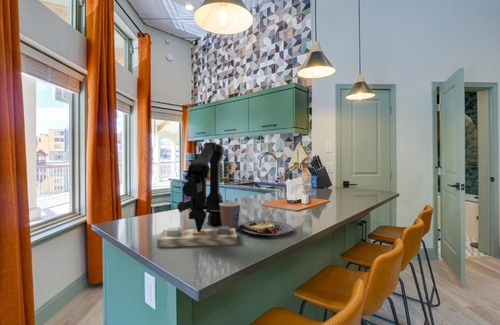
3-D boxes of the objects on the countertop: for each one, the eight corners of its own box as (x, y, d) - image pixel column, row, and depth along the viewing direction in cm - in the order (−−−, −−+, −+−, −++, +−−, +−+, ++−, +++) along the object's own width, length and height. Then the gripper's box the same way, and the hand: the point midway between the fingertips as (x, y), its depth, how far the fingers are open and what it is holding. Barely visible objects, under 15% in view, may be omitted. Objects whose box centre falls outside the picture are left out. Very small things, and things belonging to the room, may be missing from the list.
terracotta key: (204, 238, 105) (204, 229, 104) (204, 241, 100) (204, 232, 100) (193, 238, 104) (193, 230, 104) (192, 241, 100) (192, 233, 100)
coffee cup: (234, 232, 113) (234, 206, 113) (214, 230, 117) (214, 204, 117) (244, 227, 122) (244, 202, 122) (226, 224, 127) (226, 200, 126)
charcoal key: (228, 234, 106) (228, 226, 106) (229, 237, 101) (229, 228, 101) (218, 234, 105) (218, 226, 105) (218, 237, 101) (218, 229, 101)
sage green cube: (179, 235, 103) (179, 227, 103) (178, 239, 99) (178, 230, 99) (168, 236, 103) (168, 227, 103) (166, 239, 98) (166, 230, 98)
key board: (234, 234, 110) (234, 228, 110) (236, 244, 98) (236, 236, 98) (163, 237, 106) (163, 230, 106) (156, 247, 94) (156, 239, 94)
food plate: (264, 242, 100) (264, 233, 100) (229, 230, 117) (229, 222, 117) (302, 232, 117) (302, 224, 117) (266, 223, 134) (266, 216, 134)
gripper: (181, 190, 110) (181, 225, 110) (174, 197, 91) (174, 239, 92) (207, 190, 111) (207, 225, 112) (205, 196, 93) (205, 238, 93)
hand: (198, 231), depth 102 cm, fingers closed, pressing on terracotta key
